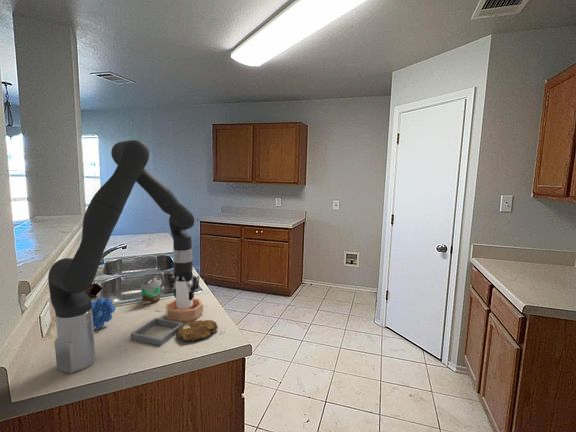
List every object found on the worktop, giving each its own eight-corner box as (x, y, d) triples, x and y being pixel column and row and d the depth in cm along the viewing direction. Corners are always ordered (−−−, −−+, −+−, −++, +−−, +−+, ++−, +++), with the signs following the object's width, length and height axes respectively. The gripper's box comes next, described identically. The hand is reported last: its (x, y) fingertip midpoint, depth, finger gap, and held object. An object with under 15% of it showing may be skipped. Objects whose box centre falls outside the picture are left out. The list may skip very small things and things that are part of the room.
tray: (161, 345, 109) (160, 340, 108) (130, 339, 112) (130, 333, 112) (184, 328, 121) (183, 323, 121) (155, 322, 125) (155, 317, 124)
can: (187, 310, 127) (187, 282, 126) (173, 308, 129) (172, 281, 127) (195, 304, 134) (194, 277, 132) (181, 302, 135) (180, 275, 133)
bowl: (189, 325, 123) (188, 314, 122) (159, 319, 127) (158, 308, 126) (208, 310, 136) (208, 300, 136) (180, 305, 140) (180, 295, 140)
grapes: (113, 319, 126) (111, 291, 124) (118, 325, 121) (116, 296, 119) (78, 328, 118) (76, 298, 116) (82, 336, 113) (80, 304, 112)
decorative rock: (210, 323, 126) (173, 335, 117) (210, 313, 126) (172, 325, 117) (223, 334, 117) (183, 348, 108) (222, 323, 117) (182, 337, 108)
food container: (155, 307, 138) (154, 285, 137) (141, 306, 138) (140, 284, 137) (166, 295, 150) (165, 275, 149) (153, 295, 151) (153, 275, 149)
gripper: (161, 260, 127) (163, 299, 129) (192, 263, 122) (193, 304, 125) (173, 255, 134) (175, 292, 136) (203, 258, 130) (204, 297, 132)
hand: (184, 298), depth 131 cm, fingers closed on can, 6 cm apart
